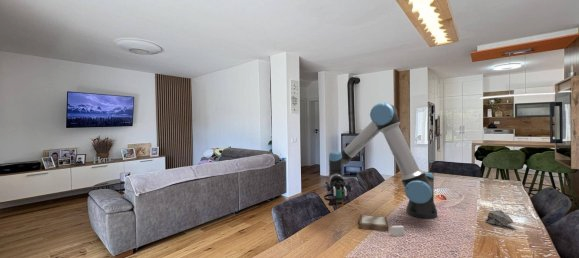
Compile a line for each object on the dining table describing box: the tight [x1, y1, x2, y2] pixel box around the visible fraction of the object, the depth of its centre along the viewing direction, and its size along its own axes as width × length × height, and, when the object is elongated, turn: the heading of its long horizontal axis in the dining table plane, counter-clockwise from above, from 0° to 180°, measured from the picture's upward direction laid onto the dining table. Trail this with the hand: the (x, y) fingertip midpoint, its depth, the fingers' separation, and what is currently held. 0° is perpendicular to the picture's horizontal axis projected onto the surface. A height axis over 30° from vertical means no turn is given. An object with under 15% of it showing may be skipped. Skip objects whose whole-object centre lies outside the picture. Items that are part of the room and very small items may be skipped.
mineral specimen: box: [485, 209, 514, 227], centre depth 123 cm, size 10×8×10 cm
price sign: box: [390, 225, 405, 237], centre depth 113 cm, size 5×2×4 cm, turn 93°
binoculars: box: [323, 182, 344, 208], centre depth 123 cm, size 9×11×10 cm
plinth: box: [359, 214, 389, 232], centre depth 124 cm, size 13×12×3 cm
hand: (340, 193), depth 118 cm, fingers closed on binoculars, 4 cm apart
